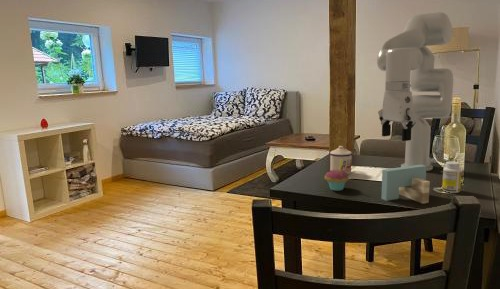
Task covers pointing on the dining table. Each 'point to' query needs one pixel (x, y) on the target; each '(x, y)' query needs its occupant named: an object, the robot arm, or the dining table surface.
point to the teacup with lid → (336, 158)
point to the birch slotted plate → (417, 190)
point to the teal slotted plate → (399, 179)
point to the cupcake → (337, 178)
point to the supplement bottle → (451, 177)
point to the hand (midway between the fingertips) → (395, 138)
